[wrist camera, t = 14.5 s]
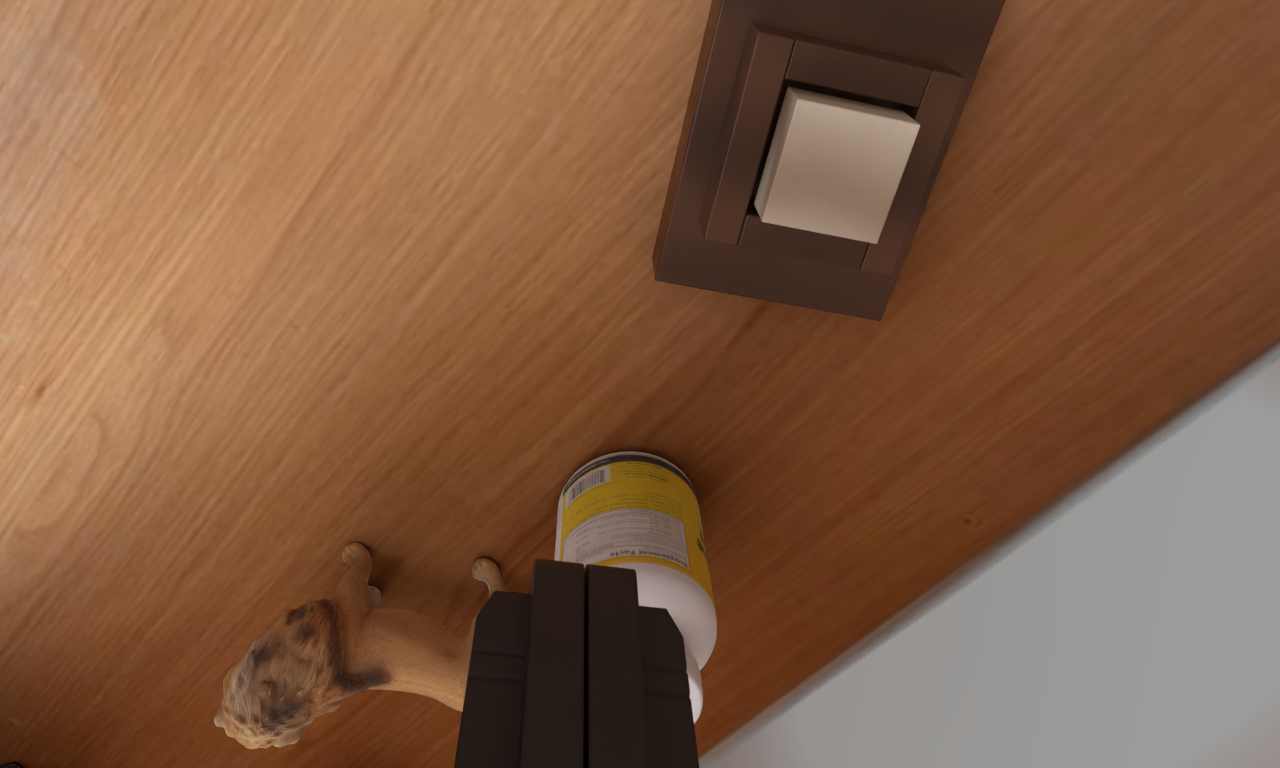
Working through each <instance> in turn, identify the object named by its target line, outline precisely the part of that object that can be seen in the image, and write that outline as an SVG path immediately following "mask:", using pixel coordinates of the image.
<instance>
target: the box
mask: <svg viewBox="0 0 1280 768" xmlns="http://www.w3.org/2000/svg"><path fill="white" fill-rule="evenodd" d="M1 768H21V767H19V766H17V765H16V764H13V763H12V764H9V765H6V766H3V767H1Z"/></svg>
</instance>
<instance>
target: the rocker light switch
mask: <svg viewBox="0 0 1280 768" xmlns="http://www.w3.org/2000/svg"><path fill="white" fill-rule="evenodd" d="M1004 2H1005V0H712V4H711V8H710V13H709V17H708V21H707V25H706V30H705V34H704V38H703V43H702V47H701V51H700V55H699V60H698V64H697V68H696V73H695V77H694V81H693V85H692V90H691V94H690V98H689V102H688V107H687V111H686V115H685V120H684V124H683V128H682V132H681V137H680V141H679V145H678V150H677V154H676V158H675V162H674V167H673V171H672V175H671V179H670V184H669V188H668V192H667V197H666V201H665V205H664V209H663V214H662V218H661V222H660V227H659V231H658V235H657V239H656V244H655V248H654V252H653V256H652V258H653V266H654V274H655V280H657V281H662V282H667V283H673V284H679V285H684V286H690V287H695V288H701V289H706V290H712V291H717V292H723V293H728V294H734V295H739V296H745V297H751V298H756V299H762V300H767V301H773V302H778V303H784V304H789V305H795V306H800V307H806V308H812V309H817V310H823V311H828V312H834V313H839V314H845V315H850V316H856V317H861V318H867V319H873V320H878V321H881V319H882V317H883V314H884V311H885V309H886V306H887V304H888V301H889V298H890V296H891V293H892V291H893V288H894V286H895V283H896V280H897V278H898V275H899V273H900V270H901V268H902V265H903V262H904V260H905V257H906V255H907V252H908V249H909V247H910V244H911V242H912V239H913V237H914V234H915V231H916V229H917V226H918V224H919V221H920V219H921V216H922V213H923V211H924V208H925V206H926V203H927V200H928V198H929V195H930V193H931V190H932V188H933V185H934V182H935V180H936V177H937V175H938V172H939V170H940V167H941V164H942V162H943V159H944V157H945V154H946V151H947V149H948V146H949V144H950V141H951V139H952V136H953V133H954V131H955V128H956V126H957V123H958V121H959V118H960V115H961V113H962V110H963V108H964V105H965V102H966V100H967V97H968V95H969V92H970V90H971V87H972V84H973V82H974V79H975V77H976V74H977V72H978V69H979V66H980V64H981V61H982V59H983V56H984V53H985V51H986V48H987V46H988V43H989V41H990V38H991V35H992V33H993V30H994V28H995V25H996V23H997V20H998V17H999V15H1000V12H1001V10H1002V7H1003V4H1004ZM788 87H794V88H798V89H803V90H808V91H812V92H817V93H822V94H826V95H831V96H835V97H840V98H845V99H849V100H854V101H859V102H863V103H868V104H872V105H877V106H882V107H886V108H891V109H896V110H900V111H904V112H905V113H906V114H908V115H909V116H910V117H911V118H912V119H914V120H915V121H916V122H917V123H919V124H920V128H919V131H918V134H917V136H916V139H915V142H914V145H913V147H912V150H911V153H910V155H909V158H908V161H907V164H906V166H905V169H904V172H903V175H902V177H901V180H900V183H899V185H898V188H897V191H896V194H895V196H894V199H893V202H892V204H891V207H890V210H889V213H888V215H887V218H886V221H885V224H884V226H883V229H882V232H881V234H880V237H879V240H878V243H877V244H874V243H869V242H864V241H858V240H853V239H848V238H843V237H838V236H832V235H827V234H822V233H817V232H812V231H807V230H801V229H796V228H791V227H786V226H781V225H776V224H770V223H765V222H762V221H761V218H760V216H759V214H758V212H757V209H756V207H755V205H754V202H755V199H756V195H757V192H758V188H759V185H760V181H761V178H762V174H763V171H764V167H765V164H766V160H767V157H768V153H769V150H770V146H771V143H772V139H773V136H774V132H775V129H776V125H777V122H778V118H779V115H780V111H781V108H782V104H783V101H784V97H785V94H786V90H787V88H788Z"/></svg>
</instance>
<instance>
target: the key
mask: <svg viewBox="0 0 1280 768" xmlns="http://www.w3.org/2000/svg"><path fill="white" fill-rule="evenodd" d="M919 128H920V124H919V123H917V122H916V121H915V120H914V119H912V118H911V117H910V116H909V115H908V114H906V113H905V112H904V111H900V110H896V109H891V108H886V107H882V106H877V105H872V104H868V103H863V102H859V101H854V100H849V99H845V98H840V97H835V96H831V95H826V94H822V93H817V92H812V91H808V90H803V89H798V88H794V87H788V88H787V90H786V94H785V97H784V101H783V104H782V108H781V111H780V115H779V118H778V122H777V125H776V129H775V132H774V136H773V139H772V143H771V146H770V150H769V153H768V157H767V160H766V164H765V167H764V171H763V174H762V178H761V181H760V185H759V188H758V192H757V195H756V199H755V202H754V205H755V207H756V209H757V212H758V214H759V216H760V218H761V221H762V222H765V223H770V224H776V225H781V226H786V227H791V228H796V229H801V230H807V231H812V232H817V233H822V234H827V235H832V236H838V237H843V238H848V239H853V240H858V241H864V242H869V243H874V244H877V243H878V240H879V237H880V234H881V232H882V229H883V226H884V224H885V221H886V218H887V215H888V213H889V210H890V207H891V204H892V202H893V199H894V196H895V194H896V191H897V188H898V185H899V183H900V180H901V177H902V175H903V172H904V169H905V166H906V164H907V161H908V158H909V155H910V153H911V150H912V147H913V145H914V142H915V139H916V136H917V134H918V131H919Z"/></svg>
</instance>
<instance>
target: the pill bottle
mask: <svg viewBox="0 0 1280 768" xmlns="http://www.w3.org/2000/svg"><path fill="white" fill-rule="evenodd" d="M554 560H556V561H564V562H573V563H582V564H584V570H585V567H586V565H587V564H593V565H602V566H610V567H619V568H628V569H635V571H636V575H637V587H638V602H639V606H647V607H656V608H665V609H667V610H668V612H669V614H670V615H671V617H672V619H673V620H674V622H675V624H676V625H677V627H678V629H679V630H680V632H681V634H682V635H683V638H684V646H685V654H686V663H687V674H688V679H689V688H690V699H691V704H692V713H693V721H694V724H695V722H696V721H697V719H698V717H699V716H700V713H701V710H702V705H703V692H702V683H701V675H700V670H701V669H702V668H703V666H704V665H705V664H706V662H707V661H708V659H709V657H710V655H711V653H712V651H713V648H714V645H715V641H716V635H717V620H716V612H715V605H714V599H713V593H712V587H711V581H710V575H709V569H708V562H707V556H706V549H705V542H704V536H703V530H702V523H701V518H700V512H699V505H698V500H697V496H696V493H695V490H694V488H693V486H692V484H691V482H690V481H689V479H688V478H687V477H686V475H685V474H684V473H683V472H682V471H681V470H680V469H679V468H678V467H676V466H675V465H674V464H672V463H671V462H669V461H667V460H665V459H663V458H661V457H658V456H656V455H652V454H649V453H644V452H636V451H625V452H616V453H611V454H607V455H604V456H601V457H598V458H596V459H594V460H592V461H590V462H589V463H587V464H585V465H584V466H582V467H581V468H580V469H579V470H577V471H576V472H575V473H574V474H573V475H572V477H571V478H570V479H569V480H568V482H567V483H566V485H565V487H564V489H563V491H562V493H561V496H560V499H559V503H558V512H557V529H556V545H555V557H554Z"/></svg>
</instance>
